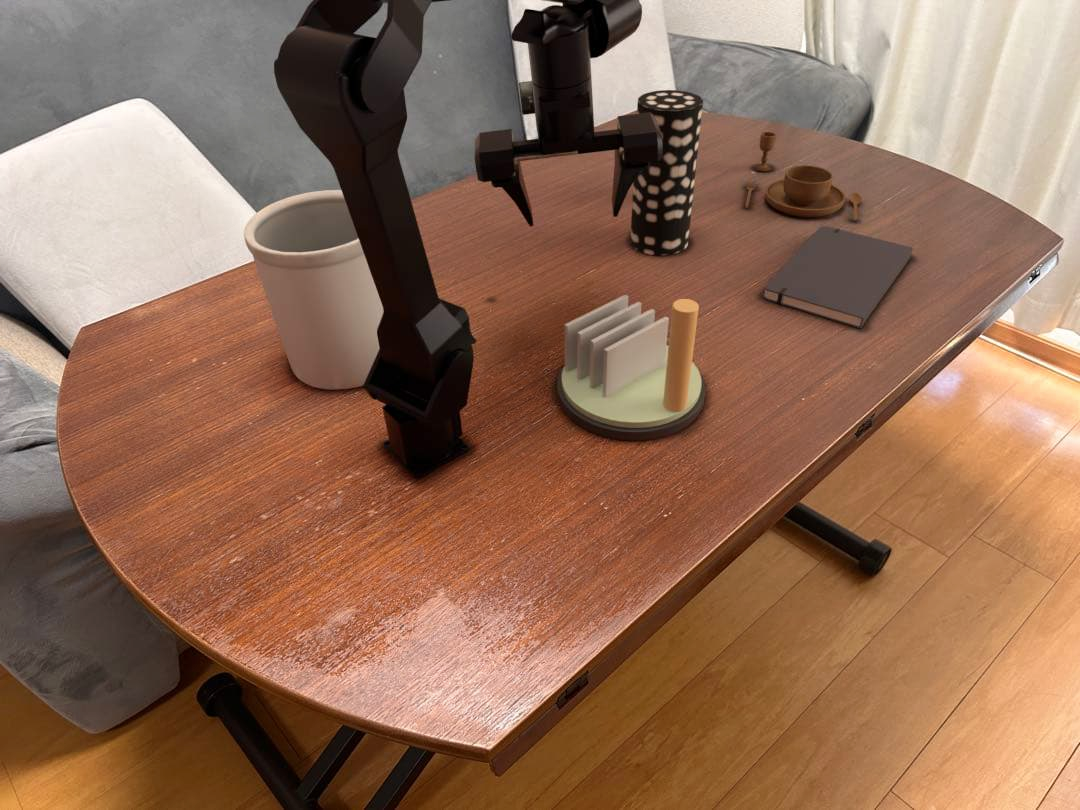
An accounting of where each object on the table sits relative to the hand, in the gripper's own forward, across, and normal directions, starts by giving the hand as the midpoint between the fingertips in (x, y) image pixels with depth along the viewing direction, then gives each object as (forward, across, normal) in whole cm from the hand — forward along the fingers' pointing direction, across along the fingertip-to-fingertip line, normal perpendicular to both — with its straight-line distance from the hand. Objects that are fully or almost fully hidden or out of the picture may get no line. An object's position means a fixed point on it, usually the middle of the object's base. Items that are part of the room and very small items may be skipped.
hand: (573, 219), depth 83 cm
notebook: (+19, -35, -8) cm, 40 cm away
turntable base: (+14, -4, +14) cm, 20 cm away
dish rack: (+13, -4, +14) cm, 19 cm away
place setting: (+22, -38, -35) cm, 56 cm away
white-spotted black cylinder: (+18, -13, -20) cm, 30 cm away
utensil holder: (+12, +28, +5) cm, 31 cm away
